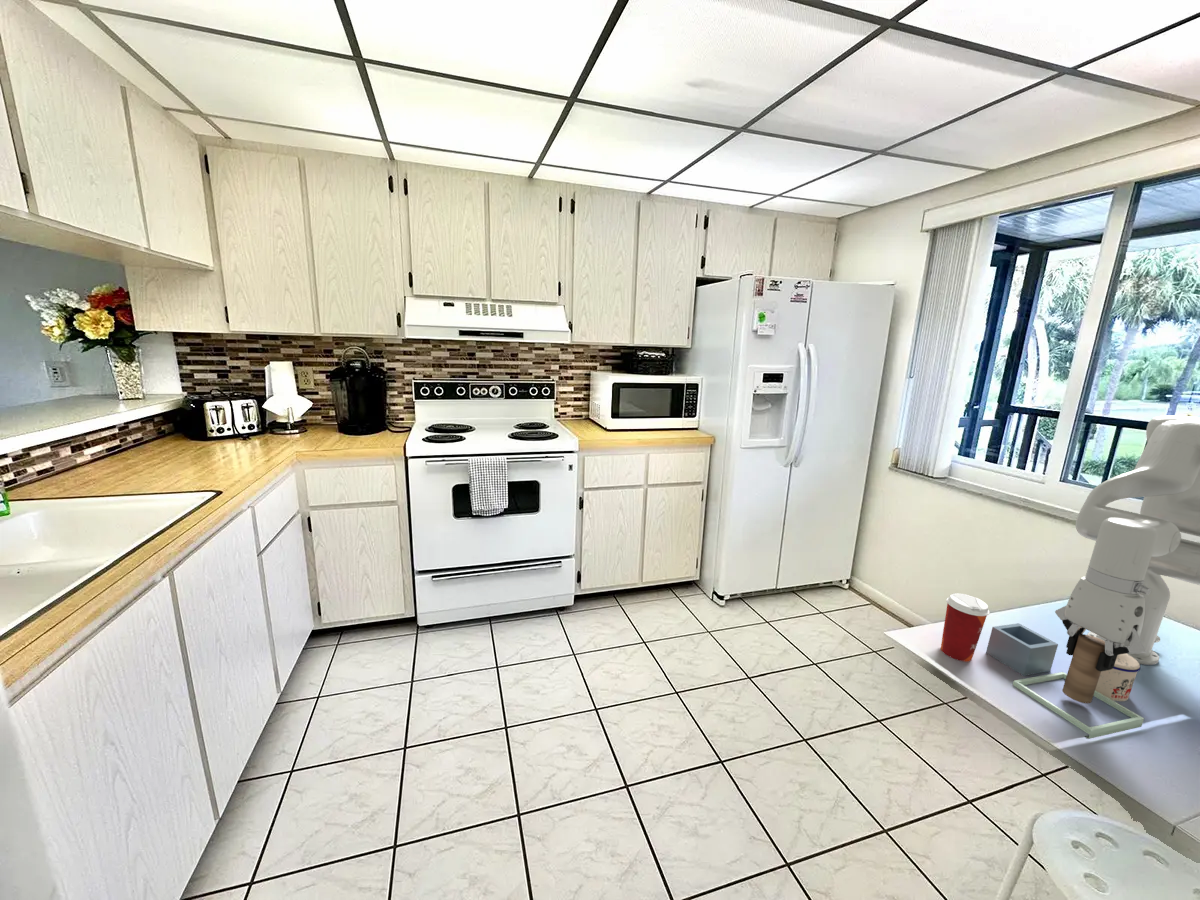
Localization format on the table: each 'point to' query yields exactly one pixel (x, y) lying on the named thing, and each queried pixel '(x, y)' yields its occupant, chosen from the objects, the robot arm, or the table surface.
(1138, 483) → the robot arm
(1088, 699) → the peg
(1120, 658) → the teacup with lid
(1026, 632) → the deep square box
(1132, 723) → the tray
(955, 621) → the coffee cup
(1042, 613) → the table surface
